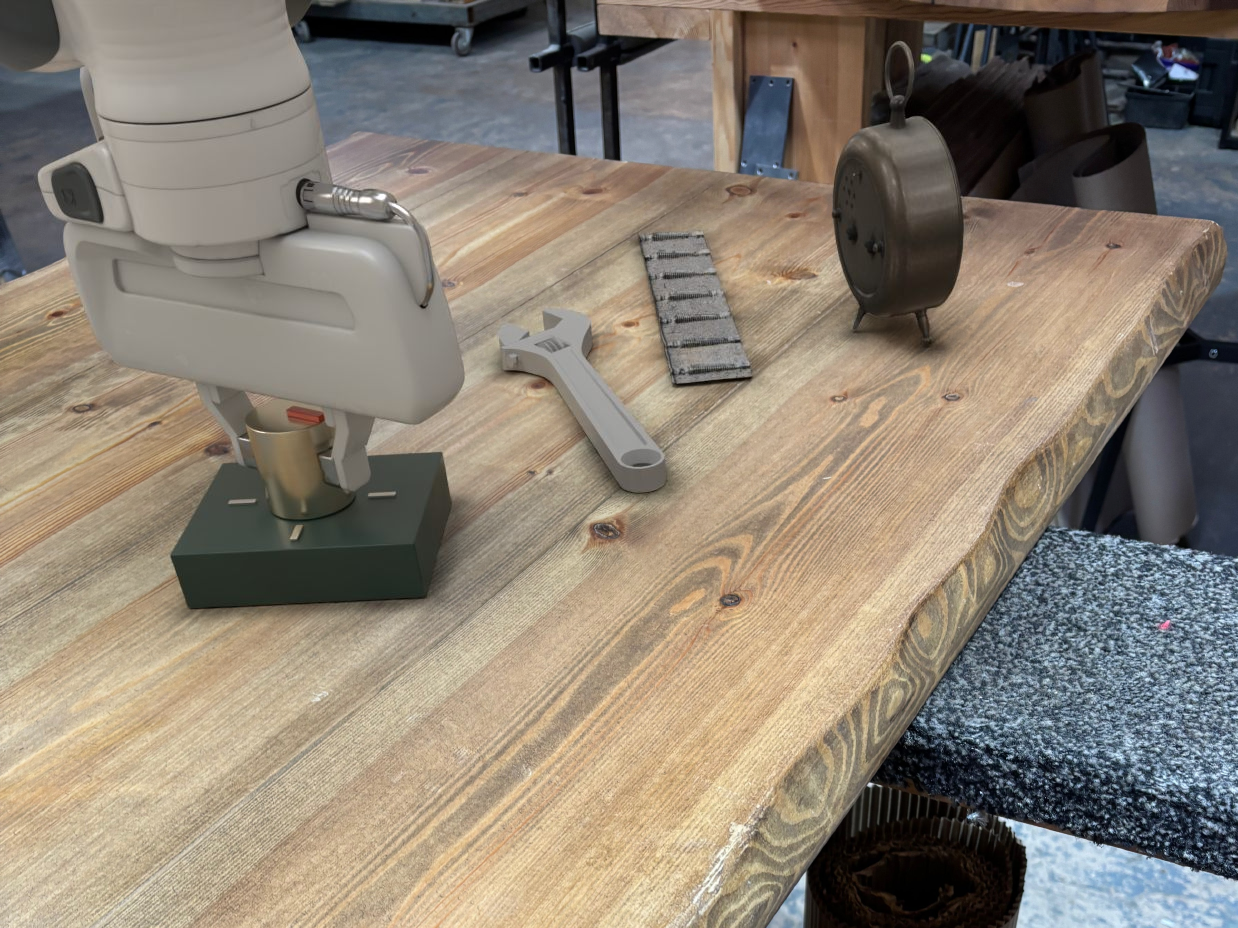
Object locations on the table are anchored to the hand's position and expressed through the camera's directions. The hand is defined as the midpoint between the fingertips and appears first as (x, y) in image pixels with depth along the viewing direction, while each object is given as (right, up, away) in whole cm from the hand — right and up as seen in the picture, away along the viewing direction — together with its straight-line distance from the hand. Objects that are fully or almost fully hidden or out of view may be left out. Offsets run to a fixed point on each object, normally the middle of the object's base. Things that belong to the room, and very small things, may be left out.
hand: (304, 474), depth 67 cm
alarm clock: (+33, +16, +21) cm, 42 cm away
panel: (0, -3, +3) cm, 4 cm away
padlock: (-22, +27, +38) cm, 52 cm away
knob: (0, -1, +1) cm, 1 cm away
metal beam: (+20, +21, +27) cm, 39 cm away
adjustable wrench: (+13, +9, +15) cm, 21 cm away
